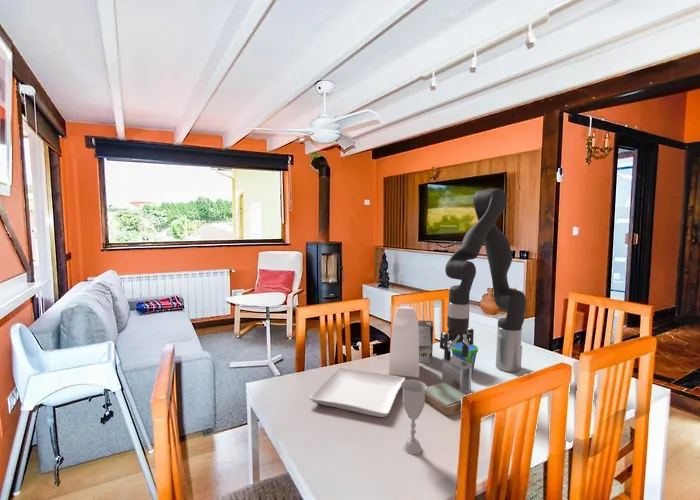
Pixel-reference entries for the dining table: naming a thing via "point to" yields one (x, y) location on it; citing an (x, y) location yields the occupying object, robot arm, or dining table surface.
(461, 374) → the housing
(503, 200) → the robot arm
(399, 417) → the dining table surface
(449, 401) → the wooden tray
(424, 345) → the coffee box
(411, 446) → the chalice
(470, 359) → the snack cup
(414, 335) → the milk
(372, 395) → the square plate
